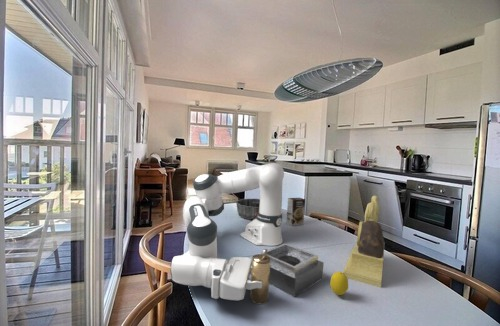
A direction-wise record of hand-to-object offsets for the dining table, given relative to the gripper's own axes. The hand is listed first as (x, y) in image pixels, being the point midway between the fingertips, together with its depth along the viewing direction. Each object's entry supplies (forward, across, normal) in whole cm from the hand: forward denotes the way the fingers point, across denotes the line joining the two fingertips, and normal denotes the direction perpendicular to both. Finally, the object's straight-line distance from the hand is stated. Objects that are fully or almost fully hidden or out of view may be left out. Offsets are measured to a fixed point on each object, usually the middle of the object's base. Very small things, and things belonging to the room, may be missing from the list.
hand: (263, 278), depth 80 cm
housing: (+8, -16, -6) cm, 19 cm away
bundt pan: (-12, -91, -7) cm, 92 cm away
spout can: (-1, 0, -6) cm, 7 cm away
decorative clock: (+40, -31, -7) cm, 51 cm away
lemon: (+24, -7, -7) cm, 26 cm away
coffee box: (+14, -83, -7) cm, 84 cm away
